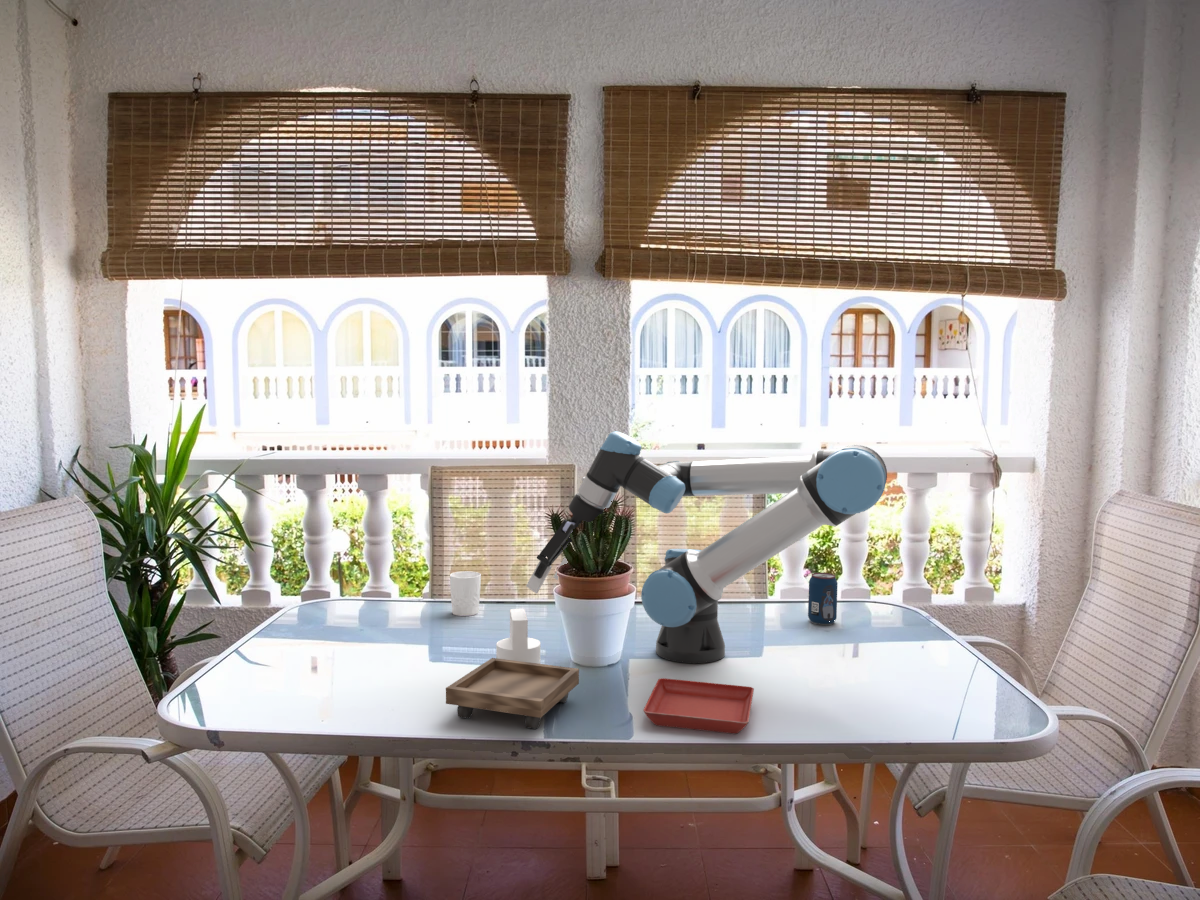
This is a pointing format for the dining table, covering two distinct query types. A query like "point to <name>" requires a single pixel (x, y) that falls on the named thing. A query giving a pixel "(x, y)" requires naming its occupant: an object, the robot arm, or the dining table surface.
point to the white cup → (465, 592)
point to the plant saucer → (699, 705)
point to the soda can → (822, 599)
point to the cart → (513, 689)
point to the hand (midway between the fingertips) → (545, 584)
